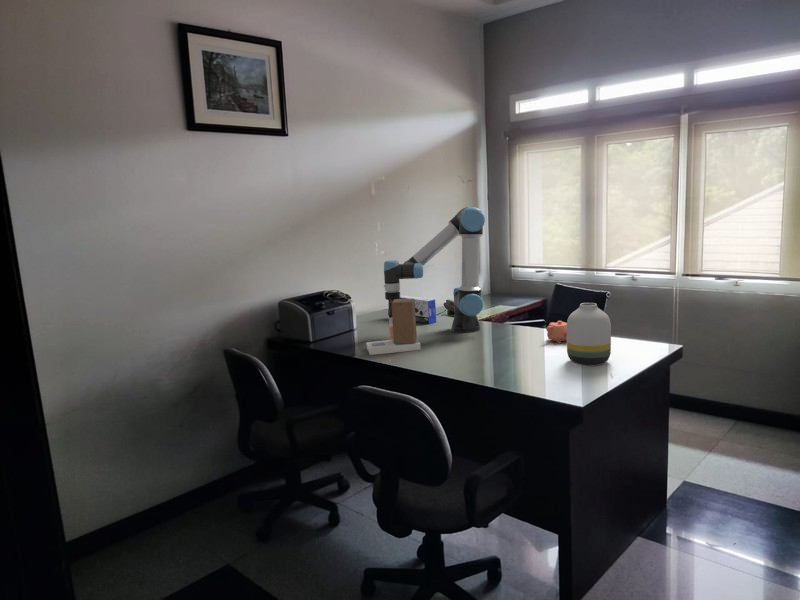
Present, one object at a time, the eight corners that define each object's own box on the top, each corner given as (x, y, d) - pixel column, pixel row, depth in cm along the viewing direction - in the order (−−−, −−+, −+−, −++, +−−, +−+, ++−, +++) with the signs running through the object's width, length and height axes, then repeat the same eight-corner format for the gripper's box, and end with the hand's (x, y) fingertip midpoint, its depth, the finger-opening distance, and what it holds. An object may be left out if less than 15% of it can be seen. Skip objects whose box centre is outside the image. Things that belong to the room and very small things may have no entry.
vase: (588, 354, 238) (588, 299, 234) (620, 363, 223) (620, 304, 219) (558, 361, 231) (557, 304, 227) (588, 370, 216) (588, 309, 212)
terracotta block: (399, 339, 287) (398, 323, 285) (401, 341, 282) (400, 325, 280) (389, 339, 286) (388, 324, 285) (391, 342, 281) (390, 326, 280)
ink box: (393, 319, 339) (391, 296, 337) (401, 317, 343) (399, 294, 341) (428, 325, 317) (427, 300, 315) (436, 322, 321) (435, 298, 319)
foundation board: (415, 343, 275) (414, 337, 274) (420, 349, 262) (420, 343, 262) (366, 348, 271) (366, 342, 270) (369, 354, 258) (369, 348, 258)
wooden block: (414, 343, 262) (412, 301, 258) (393, 344, 263) (391, 302, 260) (416, 338, 271) (414, 298, 268) (396, 339, 273) (394, 299, 269)
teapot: (571, 344, 255) (571, 324, 254) (545, 343, 261) (544, 323, 259) (575, 338, 266) (575, 319, 264) (550, 337, 271) (550, 318, 269)
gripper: (381, 288, 291) (383, 328, 295) (388, 295, 267) (390, 338, 270) (395, 287, 292) (397, 327, 296) (404, 294, 268) (406, 337, 272)
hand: (394, 332), depth 283 cm, fingers open, 13 cm apart
